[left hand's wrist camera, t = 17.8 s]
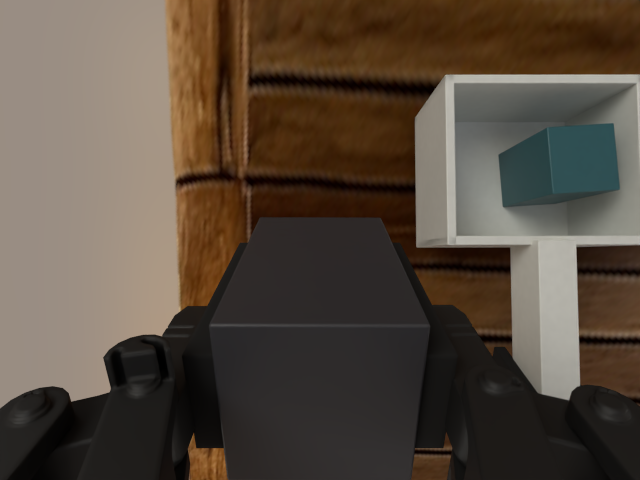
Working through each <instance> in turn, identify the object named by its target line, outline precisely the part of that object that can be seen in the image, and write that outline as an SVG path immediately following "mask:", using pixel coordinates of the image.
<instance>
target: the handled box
mask: <svg viewBox="0 0 640 480" xmlns="http://www.w3.org/2000/svg"><path fill="white" fill-rule="evenodd" d="M606 123H614V131H615V142H616V152H617V163H618V173H619V183H620V190H617V191H612V192H608V193H603V194H598V195H594V196H589V197H584V198H580V199H575V200H570V201H566V202H561V203H557V204H544V205H529V206H513V207H503V204H502V192H501V180H500V169H499V157H498V155H499V154H500V153H502V152H504V151H506V150H507V149H509V148H511V147H513V146H515V145H516V144H518V143H520V142H522V141H524V140H525V139H527V138H529V137H531V136H533V135H534V134H536V133H538V132H540V131H542V130H543V129H545V128H547V127H559V126H574V125H590V124H606ZM415 166H416V247H417V248H420V247H510V253H511V300H512V348H513V359H514V361H515V362H516V364H517V365H518V366H519V368H520V369H521V371H522V372H523V373H524V375H525V376H526V377H527V379H528V380H529V382H530V383H531V384H532V386H533V387H534V388H535V390H536V391H537V393H539V394H543V395H548V396H552V397H557V398H561V399H565V400H569V399H570V395H571V392H572V391H573V390H574V389H575V388H576V387H577V386H580V363H579V327H578V291H577V255H576V247H592V246H626V245H640V75H445V76H444V77H443V79H442V80H441V82H440V83H439V85H438V86H437V87H436V89H435V90H434V92H433V93H432V94H431V96H430V97H429V99H428V100H427V102H426V103H425V104H424V106H423V107H422V109H421V110H420V112H419V113H418V114H417V116H416V117H415Z"/></svg>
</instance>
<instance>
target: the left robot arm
mask: <svg viewBox="0 0 640 480" xmlns="http://www.w3.org/2000/svg"><path fill="white" fill-rule="evenodd" d="M247 244H248V243H240V244H239V246H238V248H237V250H236V252H235V254H234V256H233V258H232V259H231V261H230V263H229V265H228V267H227V269H226V271H225V273H224V275H223V277H222V279H221V281H220V283H219V285H218V287H217V288H216V290H215V292H214V294H213V296H212V298H211V300H210V302H209V304H208V306H187V307H186V308H185V309H183V310H182V311H180V312H179V313H178V314H176V315H175V316H174V318H173V319H172V321H171V323H170V324H169V326H168V328H167V329H166V330H165V332H164V333H163V335H162V336H158V335H141V336H136V337H132V338H129V339H127V340H124V341H122V342H120V343H118V344H117V345H115V346H114V347H112V348H111V349H110V350H109V351H108V352H107V353H106V355H105V356H104V357H103V358H104V362H105V366H106V370H107V374H108V378H109V382H110V386H111V391H110V392H109V393H106V394H102V395H99V396H95V397H90V398H86V399H82V400H77V401H73V402H71V400H70V396H69V393H68V392H67V391H66V390H64V389H63V388H59V387H53V386H52V387H44V388H38V389H35V390H32V391H29V392H26V393H24V394H22V395H20V396H18V397H16V398H14V399H12V400H11V401H9V402H8V403H7V404H6V405H4V406H3V407H2V408H0V480H189V470H190V460H189V454H188V446H189V444H190V441H191V438H192V436H193V433H194V436H195V442H196V448H224V445H223V437H222V429H221V420H220V412H219V404H218V396H217V388H216V379H215V371H214V363H213V355H212V347H211V338H210V330H209V324H210V322H211V320H212V318H213V316H214V314H215V311H216V309H217V307H218V305H219V303H220V301H221V299H222V297H223V295H224V292H225V290H226V288H227V286H228V284H229V282H230V280H231V278H232V276H233V273H234V271H235V269H236V267H237V265H238V263H239V261H240V259H241V257H242V255H243V252H244V250H245V248H246V246H247ZM392 244H393V246H394V248H395V250H396V253H397V255H398V257H399V259H400V261H401V264H402V266H403V268H404V270H405V272H406V274H407V277H408V279H409V281H410V283H411V285H412V287H413V290H414V292H415V294H416V296H417V298H418V300H419V303H420V305H421V307H422V309H423V311H424V313H425V316H426V318H427V320H428V322H429V324H430V332H429V340H428V348H427V356H426V364H425V372H424V380H423V388H422V396H421V404H420V412H419V420H418V428H417V436H416V444H415V448H443V447H444V440H445V434H446V432H447V434H448V437H449V440H450V442H451V445H452V454H451V460H450V466H449V471H448V477H447V480H640V406H638V405H637V404H636V403H634V402H633V401H632V400H631V399H629V398H627V397H626V396H624V395H622V394H620V393H618V392H616V391H613V390H611V389H607V388H604V387H601V386H594V385H583V386H577V387H576V388H575V389H574V390H573V391H572V392H571V395H570V399H569V400H565V399H561V398H557V397H552V396H548V395H543V394H539V393H536V392H533V391H530V390H529V388H528V386H527V385H526V383H525V382H524V380H523V379H522V378H520V377H519V376H518V375H517V374H515V373H514V372H512V371H510V370H508V369H506V368H504V367H501V366H498V365H497V363H496V362H495V360H494V359H493V357H492V355H491V354H490V352H489V351H488V349H487V348H486V346H485V345H484V343H483V341H482V340H481V338H480V337H479V336H478V334H477V332H476V331H475V329H474V327H472V324H471V323H470V321H469V320H468V318H467V317H466V315H465V314H464V313H463V312H461V311H460V310H458V309H457V308H456V307H454V306H453V305H432V304H431V302H430V300H429V299H428V297H427V295H426V293H425V291H424V289H423V287H422V285H421V283H420V281H419V279H418V277H417V275H416V273H415V271H414V269H413V268H412V266H411V264H410V262H409V260H408V258H407V256H406V254H405V252H404V250H403V248H402V246H401V244H400V243H392Z"/></svg>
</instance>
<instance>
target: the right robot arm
mask: <svg viewBox="0 0 640 480" xmlns="http://www.w3.org/2000/svg"><path fill="white" fill-rule="evenodd" d="M493 359H494V360H495V362H496V363H497V365H498V366H501V367H504V368H506V369H508V370H510V371H512V372H514V373H515V374H517V375H518V376H519V377H520V378H522V379H523V380H524V382H525V383H526V385H527V386H528V388H529V390H530V391H533V392H536V393H537V391H536V390H535V388H534V387H533V386H532V384H531V383H530V382H529V380H528V379H527V377H526V376H525V375H524V373H523V372H522V371H521V369H520V368H519V366H518V365H517V364H516V362H515V361H514V359H513V358H512V356H511V355H510V354H509V352H508V351H507V350H506V348H505V347H494V352H493ZM580 386H581V385H580Z"/></svg>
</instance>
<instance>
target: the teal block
mask: <svg viewBox="0 0 640 480" xmlns="http://www.w3.org/2000/svg"><path fill="white" fill-rule="evenodd" d="M498 157H499V169H500V180H501V192H502V204H503V207H513V206H529V205H544V204H557V203H561V202H566V201H570V200H575V199H580V198H584V197H589V196H594V195H598V194H603V193H608V192H612V191H617V190H620V183H619V173H618V163H617V152H616V142H615V131H614V123H606V124H590V125H574V126H559V127H547V128H545V129H543V130H542V131H540V132H538V133H536V134H534V135H533V136H531V137H529V138H527V139H525V140H524V141H522V142H520V143H518V144H516V145H515V146H513V147H511V148H509V149H507V150H506V151H504V152H502V153H500V154H499V155H498Z"/></svg>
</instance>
